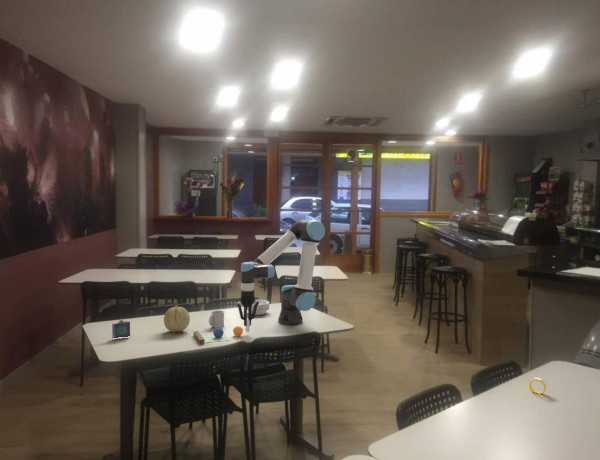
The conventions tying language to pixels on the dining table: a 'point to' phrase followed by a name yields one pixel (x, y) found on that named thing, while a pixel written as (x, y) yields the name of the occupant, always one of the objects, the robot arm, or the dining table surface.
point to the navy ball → (218, 332)
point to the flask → (121, 329)
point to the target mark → (214, 338)
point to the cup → (217, 319)
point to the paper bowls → (261, 307)
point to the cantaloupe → (176, 319)
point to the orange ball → (238, 331)
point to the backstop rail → (199, 337)
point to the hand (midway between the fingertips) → (247, 331)
